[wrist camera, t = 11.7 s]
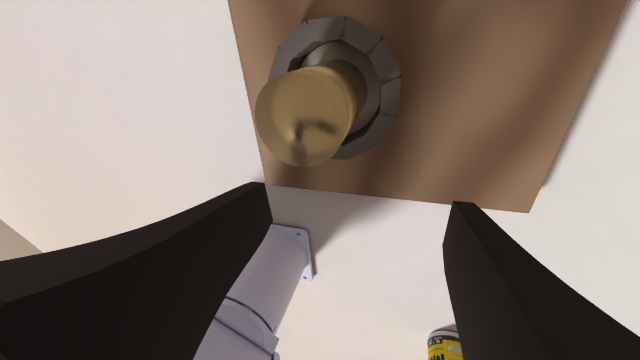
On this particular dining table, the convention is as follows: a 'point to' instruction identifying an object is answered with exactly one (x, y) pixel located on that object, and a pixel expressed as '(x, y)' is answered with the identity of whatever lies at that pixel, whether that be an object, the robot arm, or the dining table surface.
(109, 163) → the dining table surface
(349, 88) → the cylinder
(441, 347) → the supplement bottle
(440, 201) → the jig board
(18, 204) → the dining table surface
